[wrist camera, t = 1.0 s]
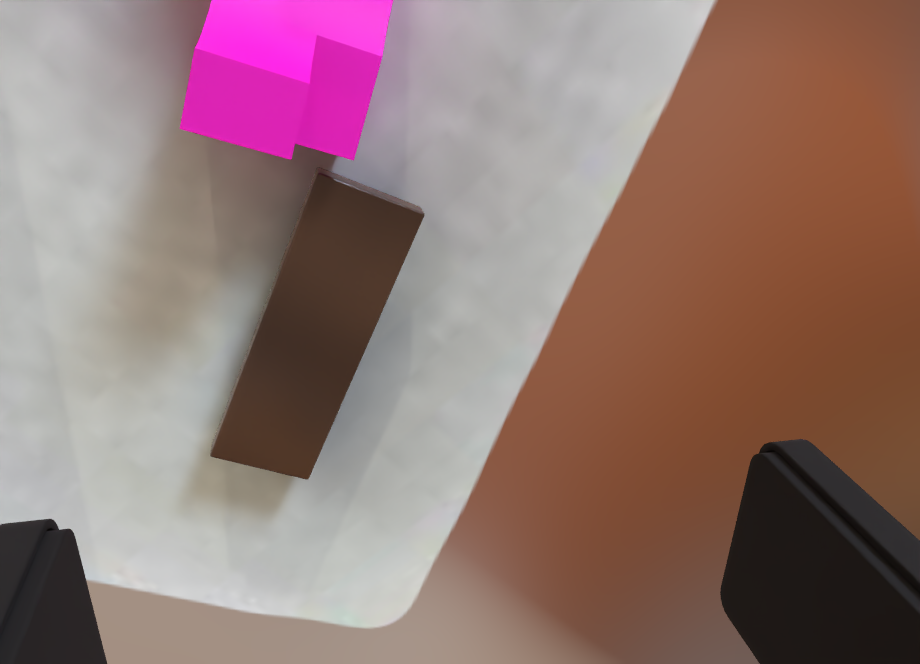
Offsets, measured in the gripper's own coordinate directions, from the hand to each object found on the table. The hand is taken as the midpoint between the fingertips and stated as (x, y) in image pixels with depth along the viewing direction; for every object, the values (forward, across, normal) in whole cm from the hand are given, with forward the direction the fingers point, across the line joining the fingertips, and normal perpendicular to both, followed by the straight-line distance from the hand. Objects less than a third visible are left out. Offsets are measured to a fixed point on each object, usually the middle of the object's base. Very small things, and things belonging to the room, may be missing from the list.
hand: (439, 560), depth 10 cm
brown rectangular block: (+27, +2, +8) cm, 28 cm away
